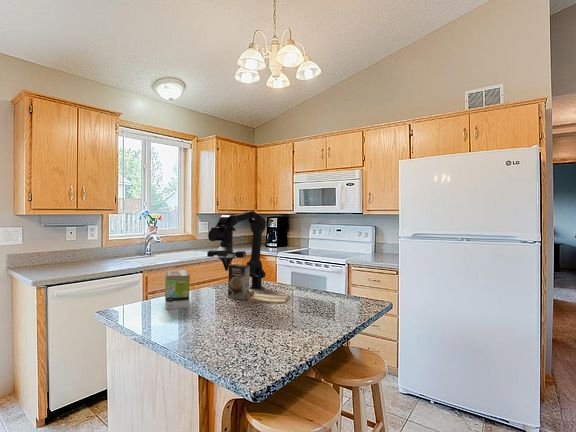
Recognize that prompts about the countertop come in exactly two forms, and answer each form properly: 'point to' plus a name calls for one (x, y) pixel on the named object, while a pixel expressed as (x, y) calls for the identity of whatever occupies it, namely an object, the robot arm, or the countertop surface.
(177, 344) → the countertop surface
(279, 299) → the maple board
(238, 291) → the coffee box
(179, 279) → the tea box
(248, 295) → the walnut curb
